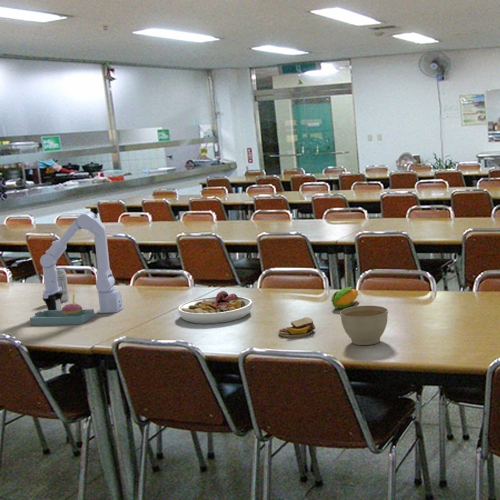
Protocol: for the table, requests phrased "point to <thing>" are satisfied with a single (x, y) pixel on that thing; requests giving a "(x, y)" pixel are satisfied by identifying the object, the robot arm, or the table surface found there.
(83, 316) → the tray
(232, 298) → the bowl
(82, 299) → the table surface
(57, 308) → the tin
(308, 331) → the toy sandwich meal
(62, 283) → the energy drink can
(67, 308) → the donut with candle
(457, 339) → the table surface
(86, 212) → the robot arm
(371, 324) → the planter bowl
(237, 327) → the table surface
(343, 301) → the corn
